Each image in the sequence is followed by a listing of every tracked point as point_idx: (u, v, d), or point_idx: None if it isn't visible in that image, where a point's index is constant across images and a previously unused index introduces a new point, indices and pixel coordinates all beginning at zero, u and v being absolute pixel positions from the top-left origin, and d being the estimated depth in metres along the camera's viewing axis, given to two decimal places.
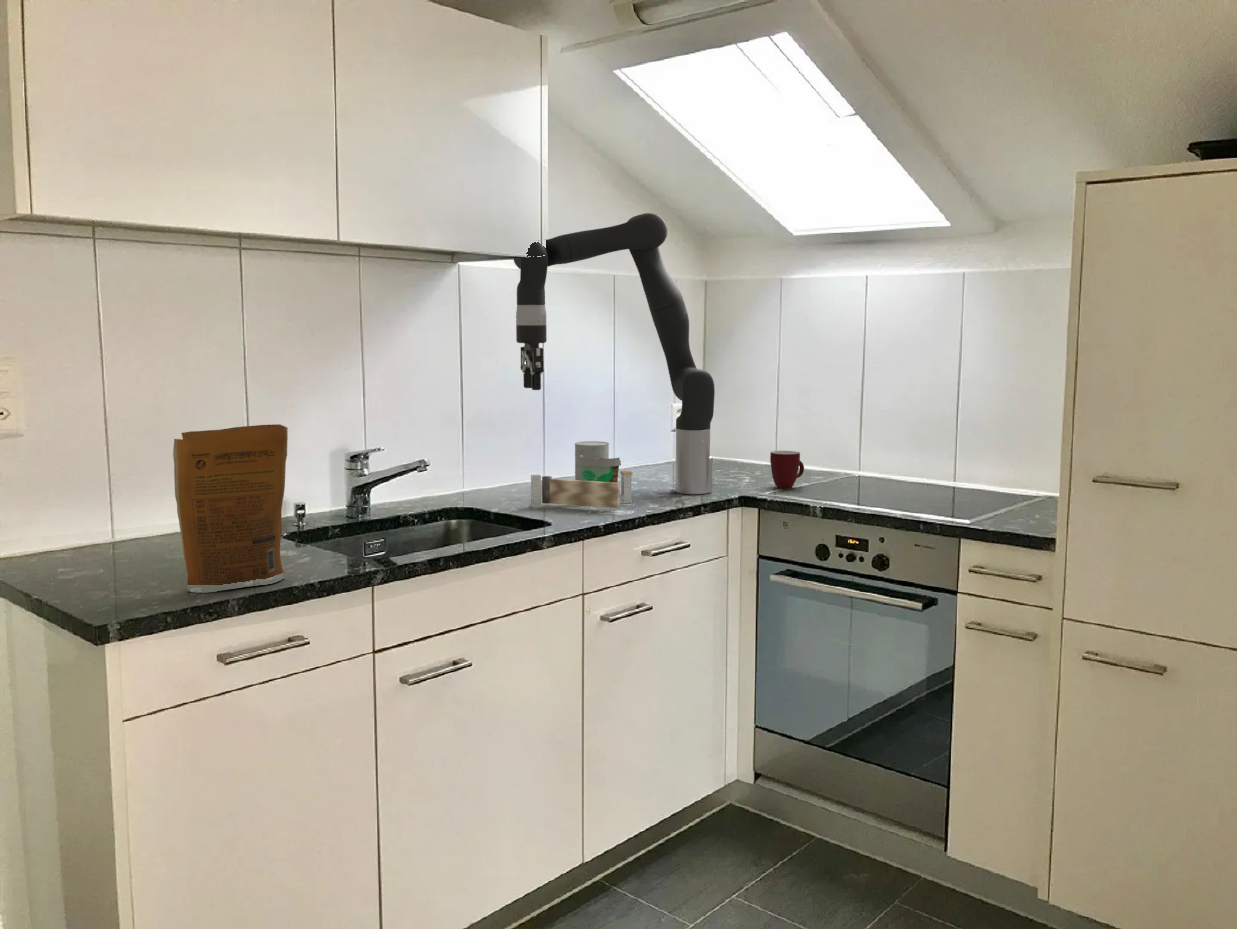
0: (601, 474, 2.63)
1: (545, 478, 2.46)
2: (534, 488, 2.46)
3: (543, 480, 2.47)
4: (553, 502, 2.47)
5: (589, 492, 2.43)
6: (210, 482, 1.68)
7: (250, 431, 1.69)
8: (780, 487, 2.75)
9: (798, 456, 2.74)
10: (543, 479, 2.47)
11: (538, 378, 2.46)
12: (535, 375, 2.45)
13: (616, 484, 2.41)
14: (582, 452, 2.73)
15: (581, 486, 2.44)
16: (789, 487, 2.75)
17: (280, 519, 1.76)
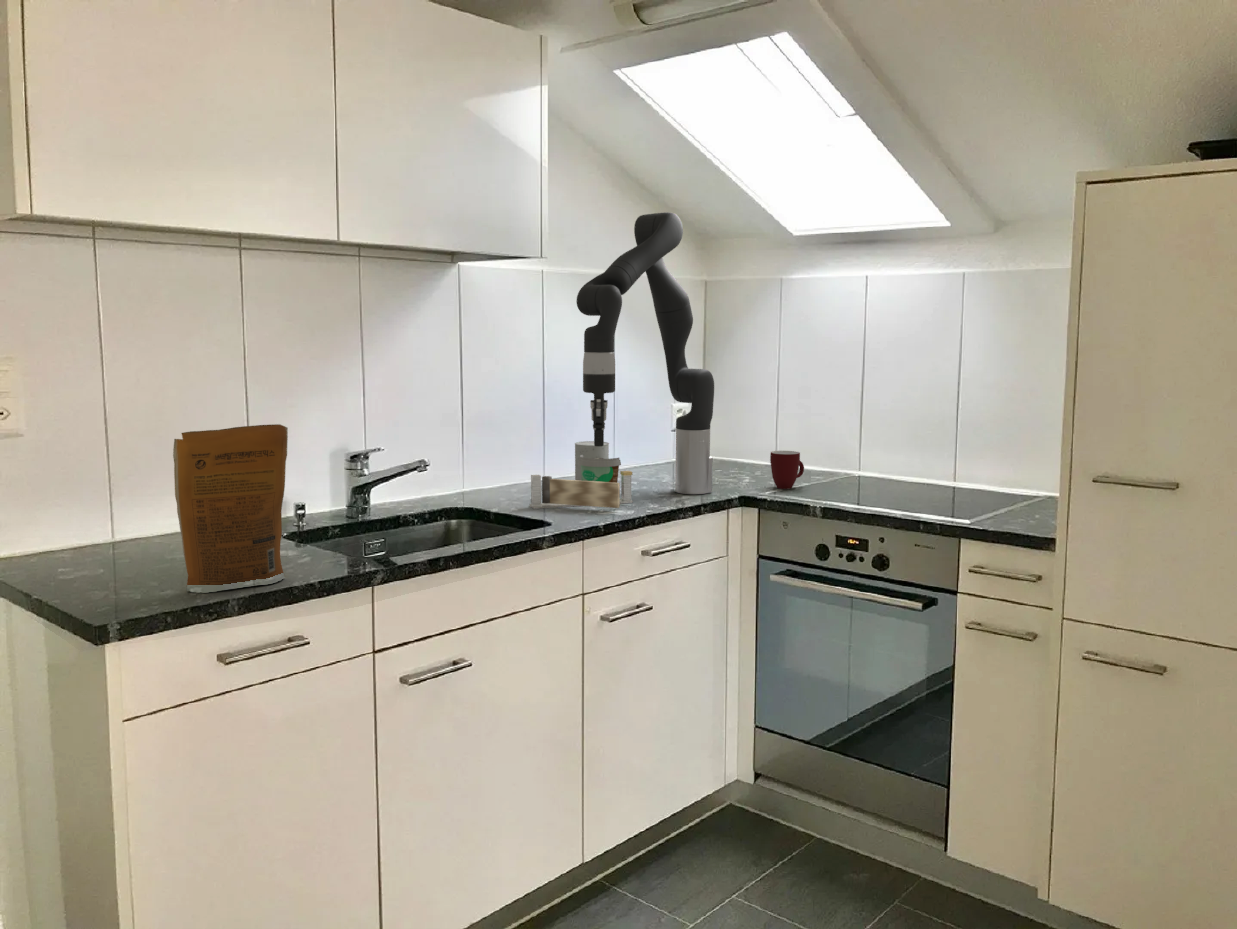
0: (601, 474, 2.63)
1: (545, 478, 2.46)
2: (534, 488, 2.46)
3: (543, 480, 2.47)
4: (553, 502, 2.47)
5: (589, 492, 2.43)
6: (210, 482, 1.68)
7: (250, 431, 1.69)
8: (780, 487, 2.75)
9: (798, 456, 2.74)
10: (543, 479, 2.47)
11: (600, 434, 2.33)
12: None
13: (616, 484, 2.41)
14: (582, 452, 2.73)
15: (581, 486, 2.44)
16: (789, 487, 2.75)
17: (280, 519, 1.76)
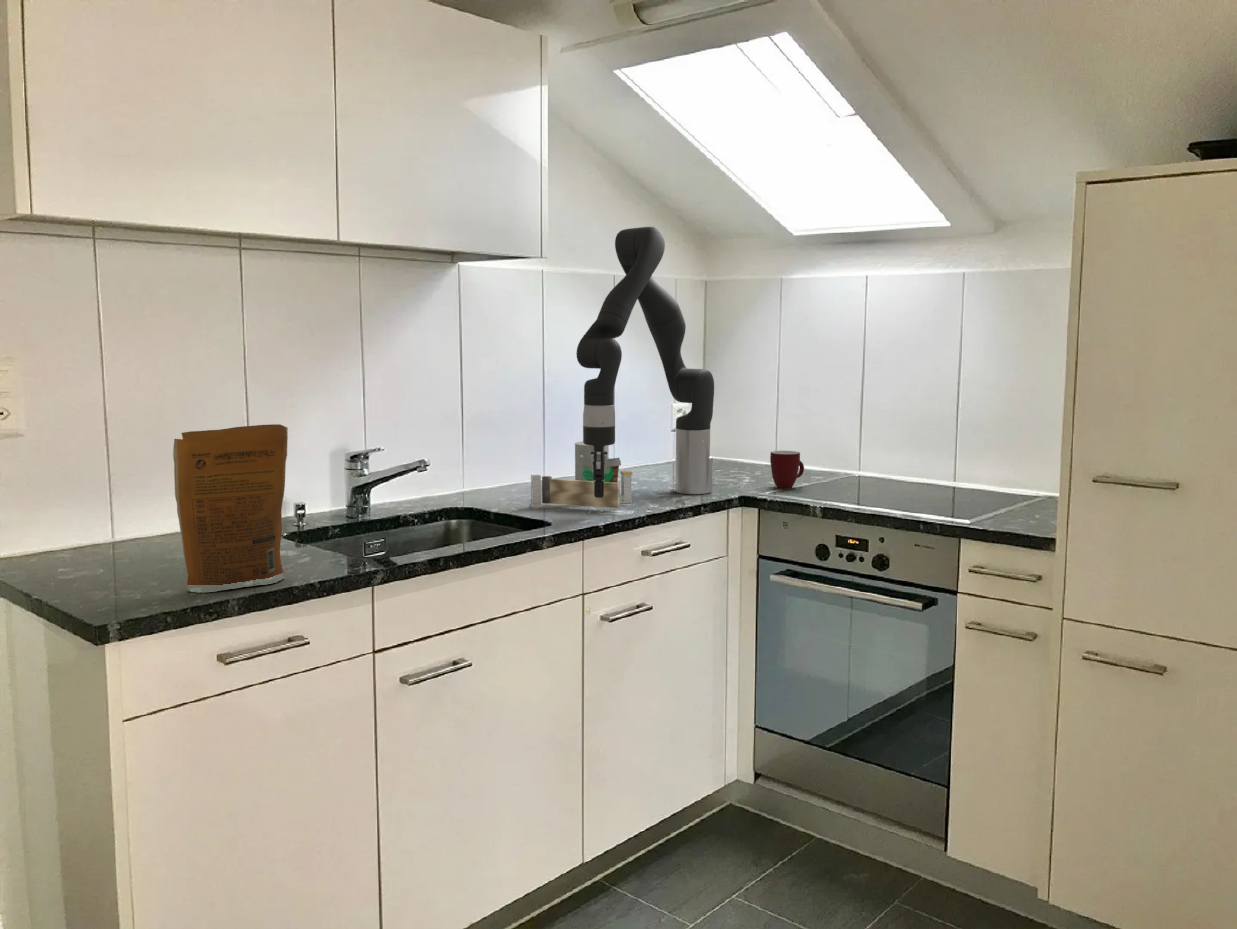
0: None
1: (545, 478, 2.46)
2: (534, 488, 2.46)
3: (543, 480, 2.47)
4: (553, 502, 2.47)
5: (589, 492, 2.43)
6: (210, 482, 1.68)
7: (250, 431, 1.69)
8: (780, 487, 2.75)
9: (798, 456, 2.74)
10: (543, 479, 2.47)
11: (600, 485, 2.34)
12: None
13: (616, 484, 2.41)
14: (582, 452, 2.73)
15: (581, 486, 2.44)
16: (789, 487, 2.75)
17: (280, 519, 1.76)
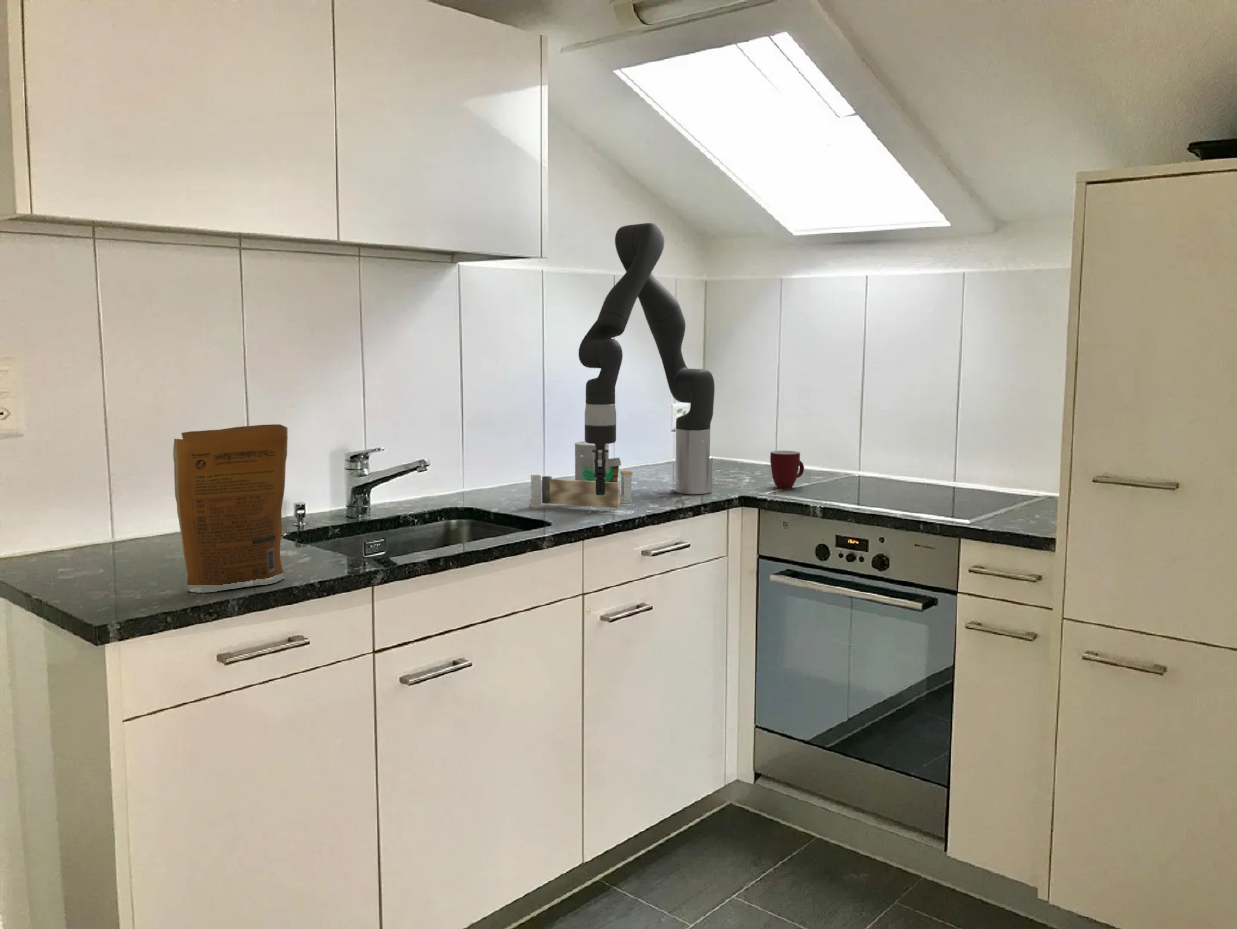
0: None
1: (545, 478, 2.46)
2: (534, 488, 2.46)
3: (543, 480, 2.47)
4: (553, 502, 2.47)
5: (589, 492, 2.43)
6: (210, 482, 1.68)
7: (250, 431, 1.69)
8: (780, 487, 2.75)
9: (798, 456, 2.74)
10: (543, 479, 2.47)
11: (601, 483, 2.38)
12: None
13: (616, 484, 2.41)
14: (582, 452, 2.73)
15: (581, 486, 2.44)
16: (789, 487, 2.75)
17: (280, 519, 1.76)
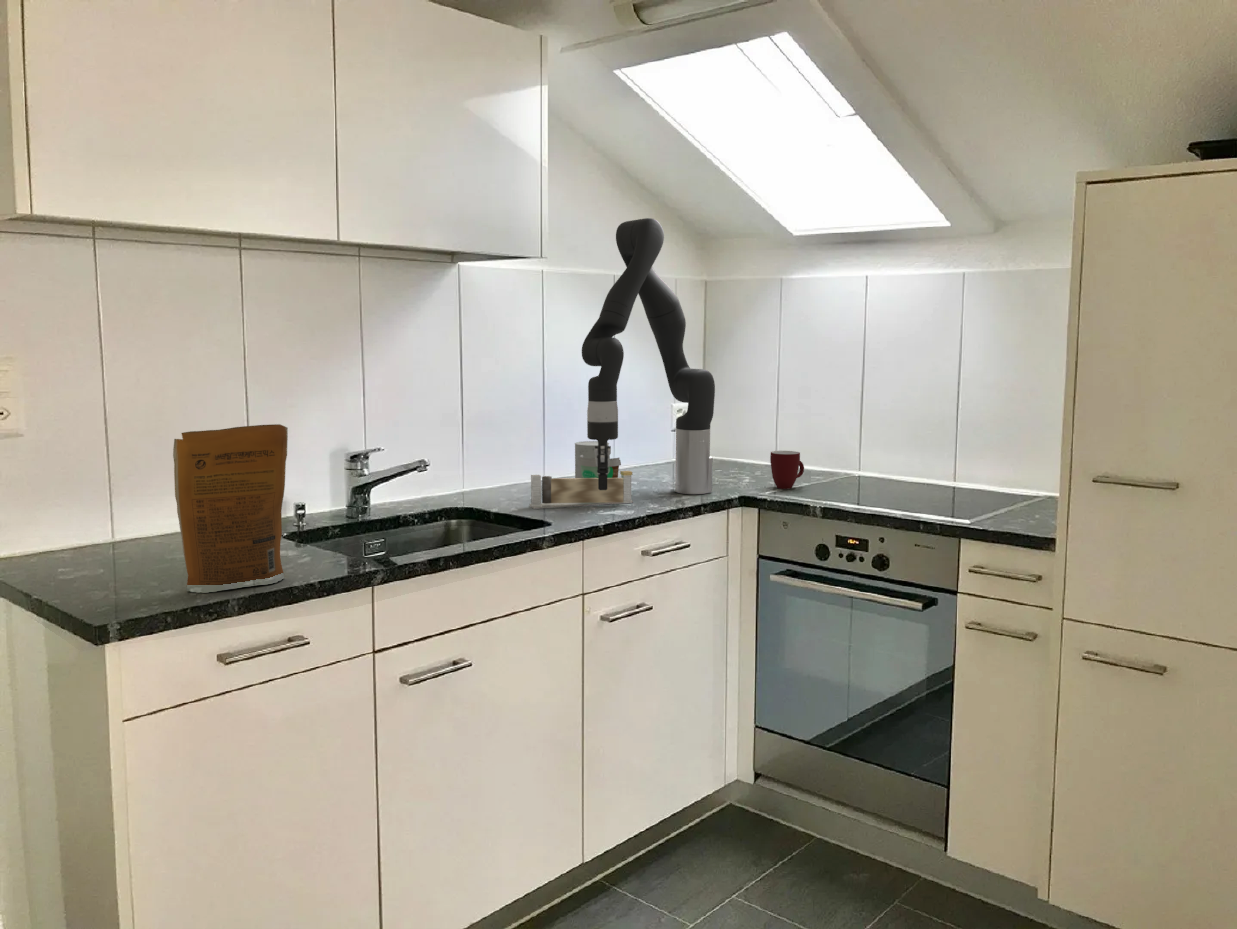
0: None
1: (547, 478, 2.46)
2: (534, 488, 2.46)
3: (545, 480, 2.47)
4: (555, 502, 2.48)
5: (593, 489, 2.48)
6: (210, 482, 1.68)
7: (250, 431, 1.69)
8: (780, 487, 2.75)
9: (798, 456, 2.74)
10: (545, 479, 2.46)
11: (604, 478, 2.44)
12: None
13: (621, 479, 2.48)
14: (582, 452, 2.73)
15: (585, 483, 2.48)
16: (789, 487, 2.75)
17: (280, 519, 1.76)
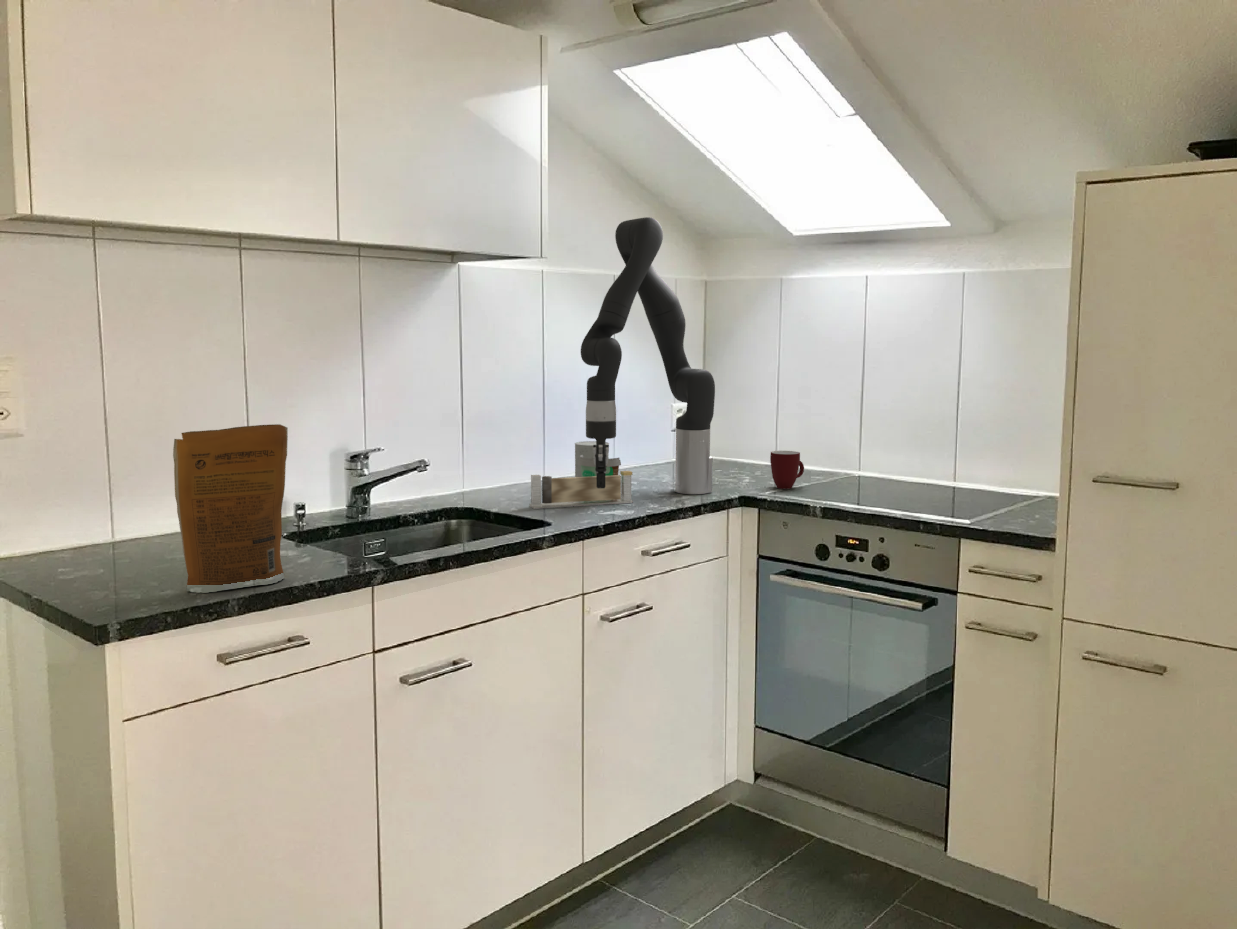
0: None
1: (548, 478, 2.47)
2: (534, 488, 2.46)
3: (546, 480, 2.46)
4: (555, 502, 2.48)
5: (592, 487, 2.51)
6: (210, 482, 1.68)
7: (250, 431, 1.69)
8: (780, 487, 2.75)
9: (798, 456, 2.74)
10: (546, 479, 2.46)
11: (602, 477, 2.47)
12: None
13: (619, 476, 2.52)
14: (582, 452, 2.73)
15: (584, 482, 2.50)
16: (789, 487, 2.75)
17: (280, 519, 1.76)
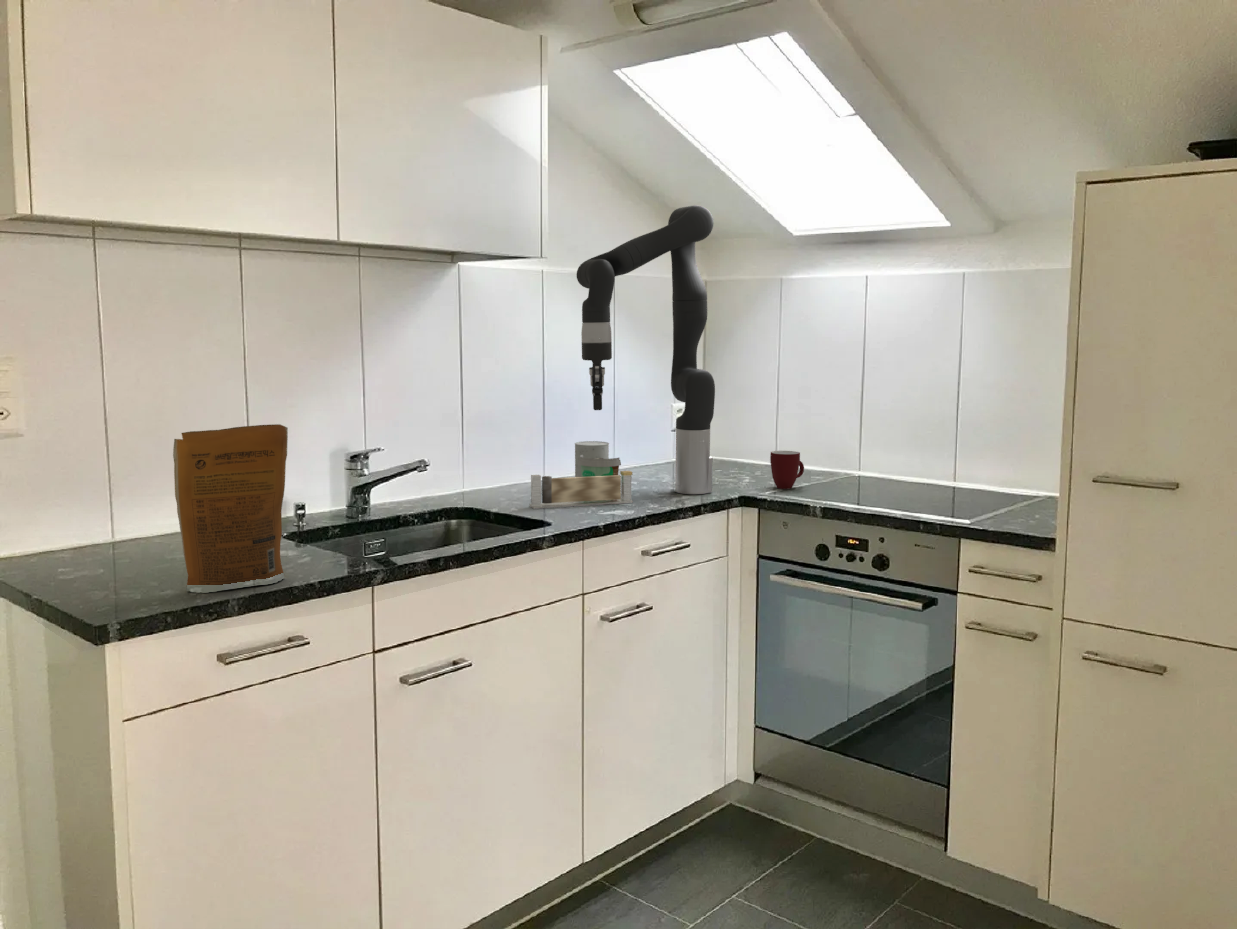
0: (602, 474, 2.63)
1: (548, 478, 2.47)
2: (534, 488, 2.46)
3: (546, 480, 2.46)
4: (555, 502, 2.48)
5: (592, 487, 2.51)
6: (210, 482, 1.68)
7: (250, 431, 1.69)
8: (780, 487, 2.75)
9: (798, 456, 2.74)
10: (546, 479, 2.46)
11: (598, 399, 2.51)
12: None
13: (619, 476, 2.52)
14: (582, 452, 2.73)
15: (584, 482, 2.50)
16: (789, 487, 2.75)
17: (280, 519, 1.76)
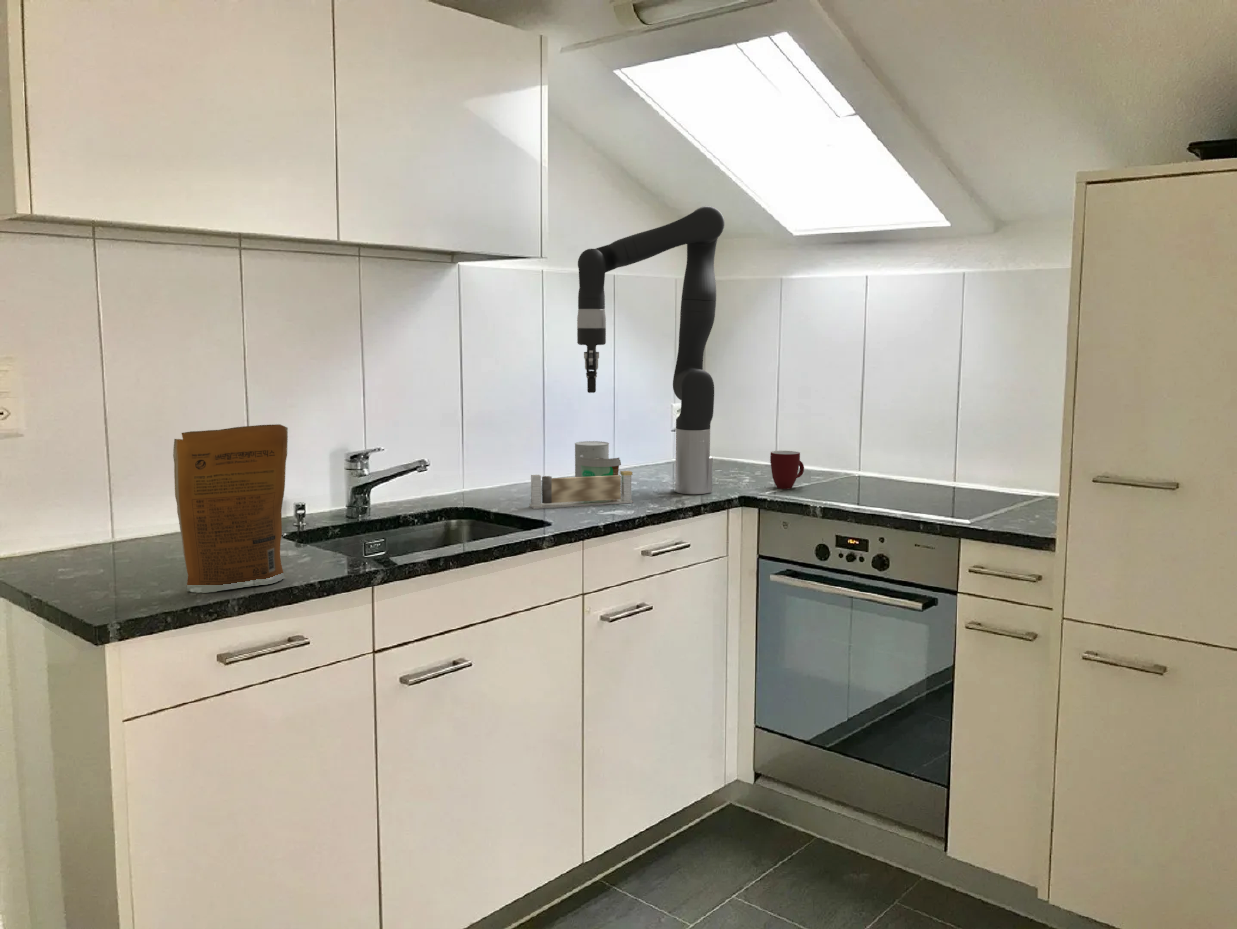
0: (601, 474, 2.63)
1: (548, 478, 2.47)
2: (534, 488, 2.46)
3: (546, 480, 2.46)
4: (555, 502, 2.48)
5: (592, 487, 2.51)
6: (210, 482, 1.68)
7: (250, 431, 1.69)
8: (780, 487, 2.75)
9: (798, 456, 2.74)
10: (546, 479, 2.46)
11: (592, 381, 2.64)
12: None
13: (619, 476, 2.52)
14: (582, 452, 2.73)
15: (584, 482, 2.50)
16: (789, 487, 2.75)
17: (280, 519, 1.76)
